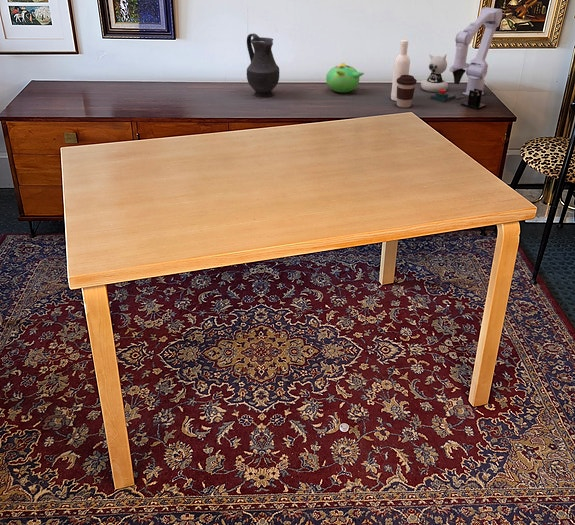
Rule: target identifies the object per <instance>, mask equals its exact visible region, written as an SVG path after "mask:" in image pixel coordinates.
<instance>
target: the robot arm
mask: <svg viewBox="0 0 575 525" xmlns="http://www.w3.org/2000/svg"><path fill="white" fill-rule="evenodd" d="M502 19H503V10H502V9H501V8H494V7H487V6H483V7H482V8H481V9H480V12H479V16H478V17H477V18H476V19H475V20H474V22H470V23H469V24H468V25H467V26H466V27H465V28H464V29H463V30H462V31H458V32H457V34H456V36H455V38H454V39H455V55H454V60H453V65H452V66H450V67H449V72H450V73H452V76H453V83H454V84H455V85H459V84H461V80H462V78H463V76H464V74H466V76H467V84H466V88H465V89H466V90H465V91H464V92H462V95H464V96H466V95H469V92H470V90H473V91H474V89H479V90H483V91H482V95H485V92H484V88H485V84H486V83H485V77H486V76H487V74H488V68H489V64H488V62H487V61H486V58H487V55H488V53H489V50H490V47H491V44H492V41H493V38H494V35H495V33H496V30H497V28H499V26H500V24H501V21H502ZM483 25H484V26H485V29H484V31H483V35H482V36H481V37H482V38H481V40H480V43H479V46H478V48H477V53H476V54H475V57H474V58H473V59H471V60H469V62H467V57H468V52H469V45H470V44H471V43H472V40H473V39H474V36H476V34H478V32H479V31H480V27H482V26H483Z"/></svg>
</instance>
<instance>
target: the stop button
mask: <svg viewBox="0 0 575 525" xmlns="http://www.w3.org/2000/svg"><path fill="white" fill-rule="evenodd" d="M446 92H447V90H445V89H440V90H439V93H440V94H446Z"/></svg>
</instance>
